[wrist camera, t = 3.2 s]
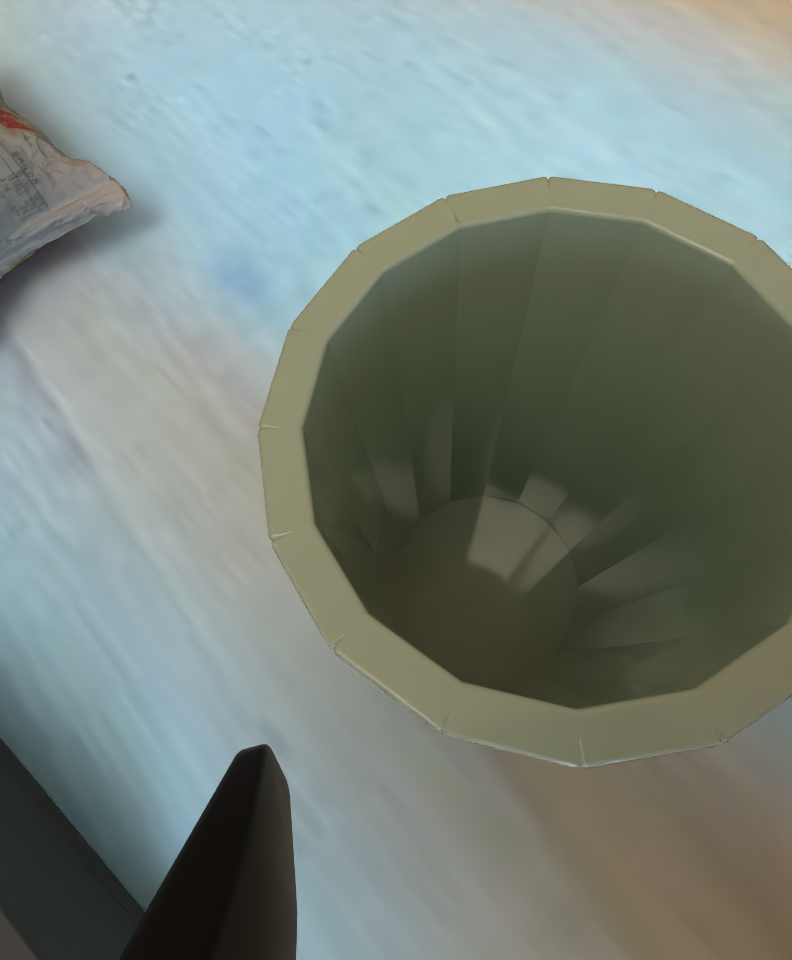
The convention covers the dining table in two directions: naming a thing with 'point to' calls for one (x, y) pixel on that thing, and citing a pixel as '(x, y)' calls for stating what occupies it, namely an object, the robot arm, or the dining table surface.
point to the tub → (54, 881)
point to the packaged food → (45, 191)
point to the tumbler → (547, 470)
